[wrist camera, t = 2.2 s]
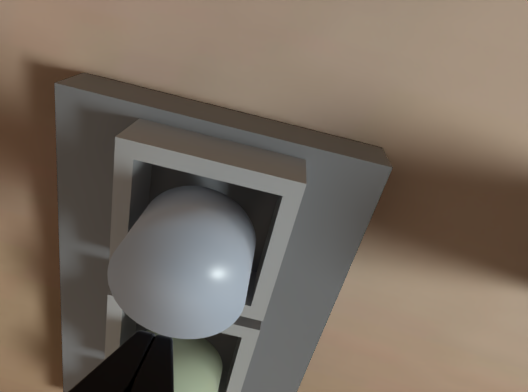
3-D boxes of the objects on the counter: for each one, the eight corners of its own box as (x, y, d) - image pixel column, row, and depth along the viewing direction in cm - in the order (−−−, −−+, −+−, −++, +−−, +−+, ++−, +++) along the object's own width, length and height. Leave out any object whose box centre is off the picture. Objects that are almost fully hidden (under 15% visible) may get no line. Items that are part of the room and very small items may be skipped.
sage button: (214, 401, 17) (200, 463, 15) (126, 380, 17) (99, 440, 15) (230, 340, 15) (218, 400, 13) (132, 317, 15) (102, 374, 13)
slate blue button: (242, 294, 14) (231, 351, 12) (136, 269, 14) (105, 322, 12) (267, 202, 12) (260, 249, 10) (145, 172, 12) (110, 213, 10)
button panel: (266, 434, 25) (261, 508, 21) (81, 392, 24) (43, 460, 21) (381, 147, 15) (406, 193, 12) (83, 72, 15) (16, 96, 11)
